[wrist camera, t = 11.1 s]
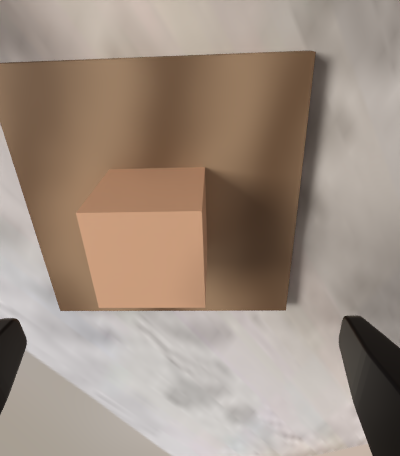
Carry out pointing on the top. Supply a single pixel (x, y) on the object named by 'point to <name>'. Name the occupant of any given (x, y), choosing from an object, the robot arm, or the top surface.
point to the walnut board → (166, 157)
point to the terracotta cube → (147, 238)
